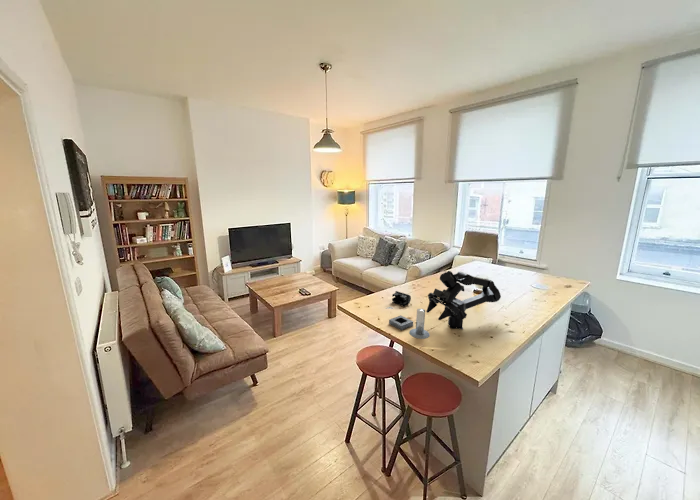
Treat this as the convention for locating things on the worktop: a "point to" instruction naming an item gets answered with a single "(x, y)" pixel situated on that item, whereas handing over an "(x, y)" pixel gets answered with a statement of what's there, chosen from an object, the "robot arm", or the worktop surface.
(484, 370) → the worktop surface
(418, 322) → the steel peg
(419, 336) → the rubber pad
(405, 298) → the end cap
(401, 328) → the socket block
